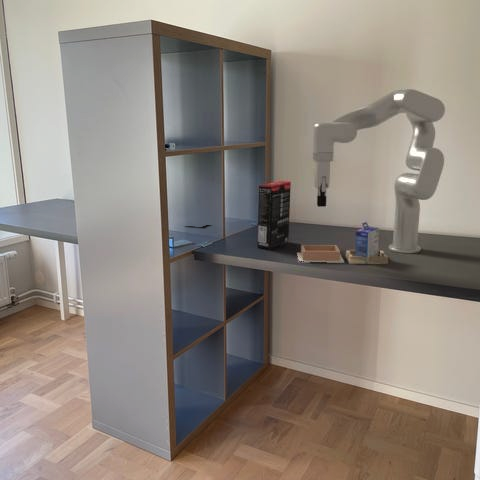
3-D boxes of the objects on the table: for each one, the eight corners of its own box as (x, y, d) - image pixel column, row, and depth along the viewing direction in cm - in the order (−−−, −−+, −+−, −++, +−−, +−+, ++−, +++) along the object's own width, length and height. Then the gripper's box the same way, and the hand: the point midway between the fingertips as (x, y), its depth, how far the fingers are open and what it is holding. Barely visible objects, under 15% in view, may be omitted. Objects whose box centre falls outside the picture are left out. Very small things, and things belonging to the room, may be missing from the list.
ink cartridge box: (364, 256, 195) (366, 220, 192) (378, 258, 192) (380, 221, 189) (353, 261, 188) (355, 224, 184) (367, 264, 184) (369, 226, 181)
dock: (296, 254, 199) (297, 244, 198) (339, 255, 198) (340, 244, 197) (298, 263, 187) (299, 252, 186) (344, 263, 186) (344, 252, 185)
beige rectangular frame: (345, 257, 195) (346, 250, 194) (381, 257, 194) (382, 250, 194) (349, 264, 185) (350, 256, 185) (387, 265, 185) (388, 257, 184)
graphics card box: (276, 240, 223) (277, 180, 216) (290, 242, 219) (291, 181, 213) (256, 248, 209) (257, 184, 202) (271, 251, 205) (271, 185, 199)
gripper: (311, 155, 191) (309, 202, 195) (314, 158, 176) (313, 209, 180) (330, 155, 191) (329, 202, 195) (336, 158, 176) (334, 209, 180)
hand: (321, 205), depth 188 cm, fingers closed
